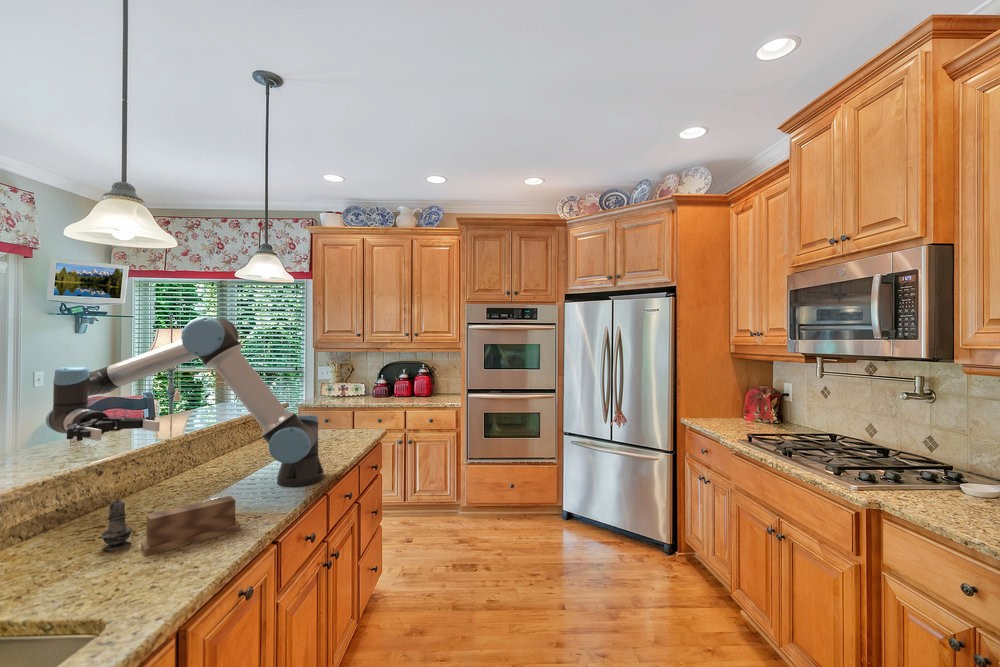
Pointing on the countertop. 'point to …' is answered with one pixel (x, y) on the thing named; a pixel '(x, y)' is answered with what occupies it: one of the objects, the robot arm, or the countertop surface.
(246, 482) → the countertop surface
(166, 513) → the ridge
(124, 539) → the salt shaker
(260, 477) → the countertop surface
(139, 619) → the countertop surface
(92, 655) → the countertop surface
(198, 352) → the robot arm
